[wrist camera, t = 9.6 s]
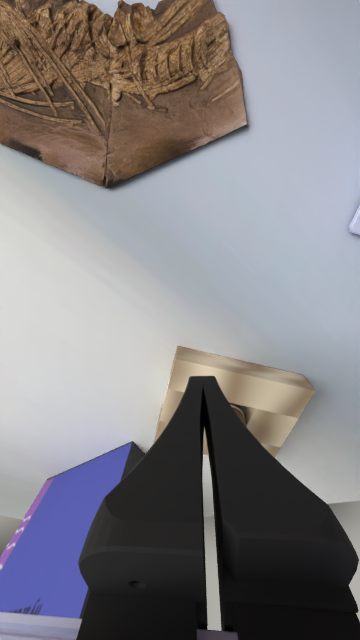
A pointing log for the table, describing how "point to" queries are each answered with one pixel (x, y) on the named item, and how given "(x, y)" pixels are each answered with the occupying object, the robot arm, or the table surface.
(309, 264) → the table surface
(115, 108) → the wooden fragment
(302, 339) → the table surface
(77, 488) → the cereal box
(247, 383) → the board
